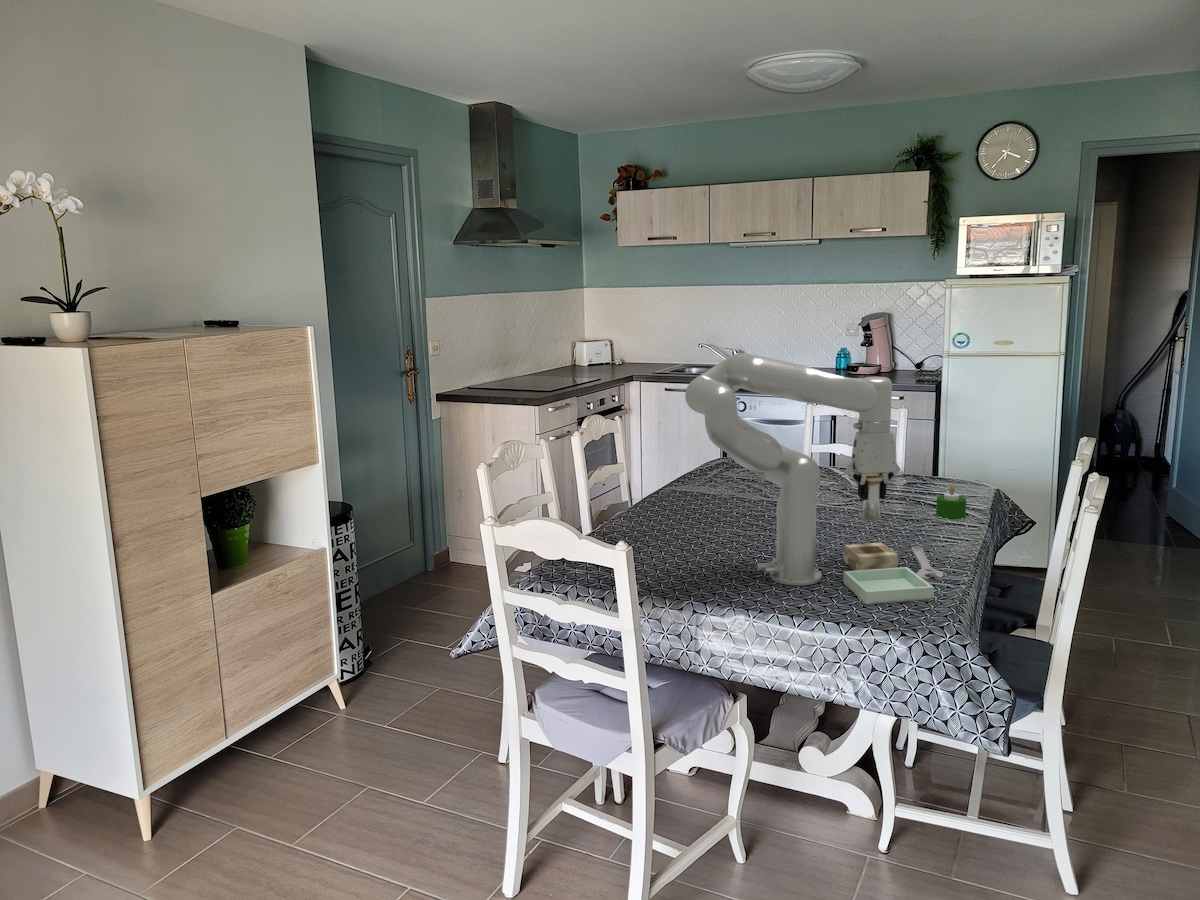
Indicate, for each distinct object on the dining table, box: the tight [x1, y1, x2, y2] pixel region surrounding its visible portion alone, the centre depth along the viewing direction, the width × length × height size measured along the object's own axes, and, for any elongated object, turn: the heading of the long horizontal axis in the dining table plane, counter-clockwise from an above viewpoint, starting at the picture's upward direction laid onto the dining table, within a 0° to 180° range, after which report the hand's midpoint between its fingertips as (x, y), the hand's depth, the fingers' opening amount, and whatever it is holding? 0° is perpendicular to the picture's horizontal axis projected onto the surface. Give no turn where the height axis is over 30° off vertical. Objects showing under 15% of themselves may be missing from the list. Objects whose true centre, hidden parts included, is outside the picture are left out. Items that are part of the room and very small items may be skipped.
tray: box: [842, 566, 935, 605], centre depth 208 cm, size 16×14×3 cm
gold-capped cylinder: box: [862, 473, 883, 521], centre depth 221 cm, size 5×5×11 cm
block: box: [843, 542, 899, 571], centre depth 224 cm, size 10×10×4 cm
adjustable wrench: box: [911, 546, 944, 583], centre depth 224 cm, size 25×6×2 cm, turn 164°
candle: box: [935, 483, 967, 520], centre depth 265 cm, size 8×8×10 cm
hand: (871, 497), depth 221 cm, fingers closed on gold-capped cylinder, 4 cm apart
